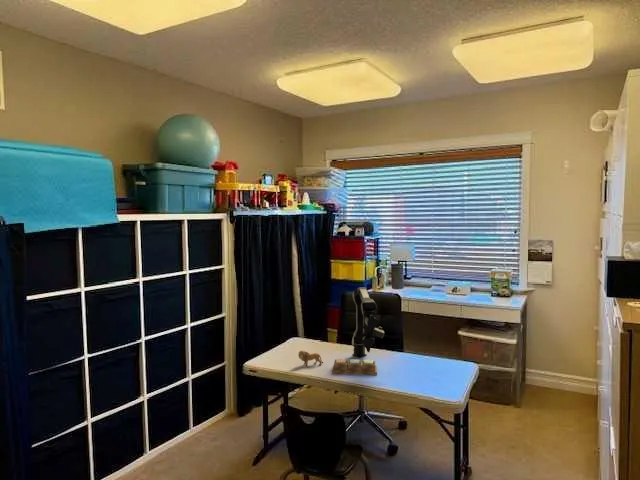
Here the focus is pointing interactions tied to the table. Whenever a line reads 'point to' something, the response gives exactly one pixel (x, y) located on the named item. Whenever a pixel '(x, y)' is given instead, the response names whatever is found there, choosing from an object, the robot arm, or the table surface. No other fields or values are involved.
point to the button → (354, 361)
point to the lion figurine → (309, 357)
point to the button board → (355, 368)
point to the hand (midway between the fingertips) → (368, 352)
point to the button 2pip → (368, 362)
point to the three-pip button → (341, 361)
